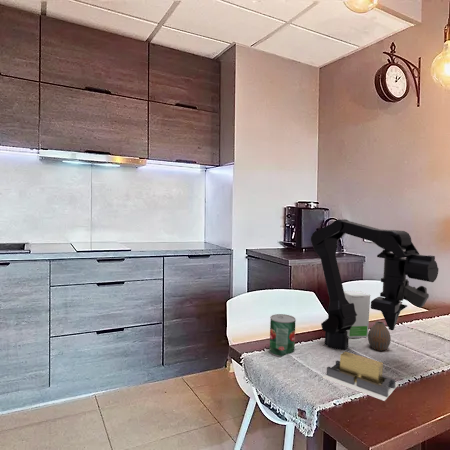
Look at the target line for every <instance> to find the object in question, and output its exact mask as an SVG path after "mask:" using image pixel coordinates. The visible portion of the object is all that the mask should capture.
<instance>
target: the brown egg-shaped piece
mask: <svg viewBox="0 0 450 450" xmlns="http://www.w3.org/2000/svg"><path fill="white" fill-rule="evenodd" d="M391 337H392V336H391V333H390V331H389V328H388V327H387V326H386V324H385V322H384V321H381V320H378V321H375V323H374V324H373V325H372V326H371V327H370V329H368V337H367V341H368V344H369V346H370V347H371V348H372V349H373V348H374V350H376V349H377V350H376V351H380V350H383V351H385V350H387V349H388V348H389V346H390V345H391V339H392V338H391Z"/></svg>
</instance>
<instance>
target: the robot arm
mask: <svg viewBox="0 0 450 450" xmlns="http://www.w3.org/2000/svg"><path fill="white" fill-rule="evenodd" d="M344 235H349V236H353V237H355V238H360V239H362V240H366V241H369V242H372V243H374V244H375V245H376V246H377V247H379V248H381V249H382V251H381V252H380V253H378V254H377V255H376V257H377V258H380V259H384V262H383V263H384V264H383V274H382V275H383V276H382V278H380V283H382V291H380V292H379V296H377V297H376V298H374V299H372V300H370V309H371V310H375V311H380V312H381V314H382V316H383V318H384V320H385V323H386V325H387V326H386V327H387V329H388V331H389V330H390V331H395V328H396V325H397V322H398V319H399V316H400V313H401V311H403V310H405V309H406V308H407V307H408V305H407V304H403V301H404V300H405V301H406V302H408V303H411V304H413V305H414V306H415V307H416V308H419V309H420V308H423V307H424V306H425V305H426V302H427V300H428V299H429V298H430V295H429V293H428V290H427V287H425V286H423V285H419V286H418V287H417V288H416V287H415V286H411V285H409V284H410V281H409V280H408V279H407V277H408V278H409V279H413V280H418V281H422V282H423V281H424V282H428V283H429V282H430V283H434V282H435V281H436V280H437V278H438V274H439V266H438V263H437V260H436V256H435V255H432V254H431V255H424V254H423V255H422V254H420V252H419V251H418V249H417V248H416V246H415V245H414V243H413V241H412V237H411V235H410V233H408V232H407V231H405V230H396V229H381V228H376V227H372V226H369V225H366V224H362V223H358V222H354V221H351V220H348V219H340V218H339V219H336V220H334V221H332V223H330V224H327V225H326V226H324V227H322V228H320V229H319V230H315V231H313V233H312V235H311V236H310V243H311V245H312V247H313V251H314V252H315V253H316V254H317V256H318V257H319V258H320V261H321V263H320V264H321V266H322V271H323V275H324V279H325V283H326V289H327V294H328V297H329V304H328V308H327V316H328V318H326V319H325V320H324V321H323V322H321V329H322V331H324V333H325V334H324V345H325V346H327V347H328V348H330V349H333V350H341V351H346V350H348V349H349V339H350V338H349V337H348V336H347V331H346V330H350V329H351V327H352V325H353V324H354V323H355V322H356V316H357V314H356V312H355V306H354V303H349V302H348V301H347V300H346V298H345V294H344V291H345V289H344V287H343V282H342V278H341V273H340V270H339V265H338V261H337V256H336V255H337V250H338V241H339V240H341V238H343V237H344Z"/></svg>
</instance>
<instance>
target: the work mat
mask: <svg viewBox="0 0 450 450" xmlns="http://www.w3.org/2000/svg"><path fill="white" fill-rule="evenodd" d="M321 378H322V379H324V380H327V381H330V382H332V383H335V384H337V385H340V386H343V387H345V388H347V389H351V390H353V391H357V392H360V393H361V394H365V395H367V396H370V397H372V398H376V399H378V400H380V401H384V402H386V400H387V399H388V398H389V396H390V395H391V394H392V393H393V392H394V390H396V389H397V387H398V386H399V385H400V384H399V383H396V384H395V388H390V389H389V390H388V396H387V397H385V396H383V395H380V394H377V393H374V392H372V391H369V390H366V389H363V388H361V387H358V386H357V383H356V382H355V384H354V385H352V384H350V383H347V382H344V381H341V380H339V379H336V378H333V377H330V376H328V375H326V374H325V375H323V376H322V377H321Z"/></svg>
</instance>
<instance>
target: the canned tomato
mask: <svg viewBox="0 0 450 450" xmlns="http://www.w3.org/2000/svg"><path fill="white" fill-rule="evenodd" d="M296 321H297V319H296V317H294V316H292V315H290V314H282V313H281V314H280V313H278V314H276V313H275V314H272V315H270V322H269V324H270V325H269V326H270V327H269V351H268V352H269V354H271V355H272V356H275V357H279V358H283V357H285V356H286V355H289V354H292V353H294V352H295V347H296V346H295V345H296V344H295V343H296V341H295V340H296Z"/></svg>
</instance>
